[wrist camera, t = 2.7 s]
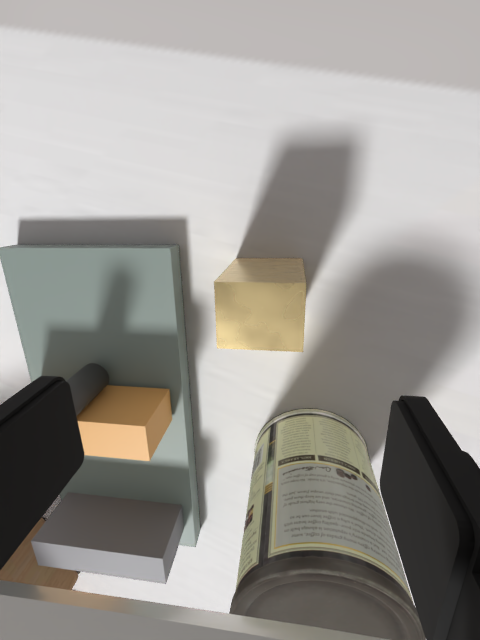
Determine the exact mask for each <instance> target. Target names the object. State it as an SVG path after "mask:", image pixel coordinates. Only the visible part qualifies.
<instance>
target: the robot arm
mask: <svg viewBox="0 0 480 640" xmlns="http://www.w3.org/2000/svg"><path fill="white" fill-rule="evenodd" d="M83 461H84V449H83V444H82V440H81V435H80V430H79V426H78V421H77V416H76V412H75V407H74V402H73V398H72V393H71V388H70V385H69V383H68V382H66V381H65V379H64V378H63V377H60V376H40V377H38V378H37V379H36V380H34V381H33V382H31V383H30V384H29V385H27V386H26V387H25V388H23V389H22V390H20V391H19V392H18V393H16V394H15V395H13V396H12V397H11V398H9V399H8V400H7V401H5V402H4V403H2V404H1V405H0V570H1V569H2V568H3V566H4V565H5V564H6V562H7V561H8V560H9V559H10V557H11V556H12V555H13V553H14V552H15V551H16V550H17V548H18V547H19V546H20V544H21V543H22V542H23V540H24V539H25V538H26V537H27V535H28V534H29V533H30V531H31V530H32V529H33V528H34V526H35V525H36V524H37V522H38V521H39V520H40V519H41V517H42V516H43V515H44V513H45V512H46V511H47V509H48V508H49V507H50V506H51V504H52V503H53V502H54V500H55V499H56V498H57V497H58V495H59V494H60V493H61V491H62V490H63V489H64V488H65V486H66V485H67V484H68V482H69V481H70V480H71V478H72V477H73V476H74V475H75V473H76V472H77V471H78V469H79V468H80V467H81V465H82V463H83ZM380 489H381V494H382V498H383V501H384V504H385V508H386V511H387V514H388V517H389V521H390V524H391V527H392V531H393V534H394V537H395V540H396V544H397V547H398V550H399V553H400V557H401V560H402V563H403V567H404V570H405V573H406V576H407V580H408V583H409V586H410V589H411V593H412V596H413V599H414V603H415V606H416V609H417V612H418V616H419V619H420V622H421V625H422V629H423V632H424V635H425V637H426V639H427V640H480V468H479V467H478V466H477V464H476V463H475V461H474V460H473V458H472V457H471V456H470V455H469V454H468V453H467V452H464V451H462V450H461V449H460V447H459V446H458V444H457V443H456V441H455V440H454V438H453V437H452V435H451V434H450V432H449V431H448V429H447V428H446V426H445V425H444V423H443V422H442V420H441V419H440V417H439V416H438V414H437V413H436V412H435V410H434V409H433V407H432V406H431V404H430V403H429V401H428V400H427V399H426V397H419V396H401V397H400V399H399V401H393V402H392V405H391V412H390V418H389V425H388V431H387V438H386V444H385V451H384V457H383V464H382V470H381V477H380ZM0 640H388V639H382V638H376V637H371V636H365V635H359V634H353V633H348V632H342V631H336V630H330V629H324V628H319V627H312V626H306V625H299V624H293V623H286V622H280V621H273V620H267V619H260V618H254V617H247V616H240V615H234V614H227V613H221V612H214V611H208V610H201V609H195V608H188V607H182V606H175V605H168V604H161V603H155V602H148V601H141V600H134V599H128V598H121V597H114V596H107V595H100V594H93V593H87V592H80V591H73V590H66V589H59V588H52V587H45V586H38V585H31V584H24V583H17V582H10V581H3V580H0Z"/></svg>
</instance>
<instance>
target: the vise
mask: <svg viewBox="0 0 480 640" xmlns="http://www.w3.org/2000/svg"><path fill="white" fill-rule="evenodd" d="M0 259H1V263H2V267H3V271H4V275H5V279H6V283H7V287H8V291H9V295H10V299H11V303H12V307H13V311H14V315H15V319H16V323H17V326H18V330H19V334H20V338H21V342H22V346H23V350H24V354H25V358H26V362H27V366H28V370H29V374H30V378H31V382H33V381H34V380H36V379H37V378H38V377H40V376H60V377H63V378H64V379H65V381H67V380H68V379H69V378H70V377H72V376H73V375H74V374H75V373H77V372H78V371H79V370H80V369H81V368H83V367H84V366H85V365H87V364H89V363H95V364H98V365H100V366H102V367H103V368H104V369H105V370H106V371H107V373H108V375H109V383H108V385H114V386H130V387H146V388H162V389H169V391H170V401H171V411H172V421H171V423H170V425H169V427H168V428H167V430H166V432H165V434H164V436H163V438H162V439H161V441H160V443H159V445H158V447H157V449H156V451H155V452H154V454H153V456H152V458H151V460H150V461H142V460H132V459H121V458H110V457H100V456H89V455H84V461H83V463H82V465H81V467H80V468H79V469H78V471H77V472H76V473H75V475H74V476H73V477H72V478H71V480H70V481H69V482H68V484H67V485H66V486H65V488H64V489H63V490H62V491H61V493H60V497H61V502H60V503H59V505H58V506H57V507H56V509H55V510H54V511H53V512H52V514H51V515H50V516H49V518H48V519H47V520H46V522H45V523H44V524H43V526H42V527H41V528H40V530H39V531H38V532H37V533H36V535H35V536H34V537H33V539H32V540H31V543H32V547H33V550H34V553H35V556H36V560H37V563H38V565H40V566H47V567H54V568H61V569H68V570H75V571H82V572H88V573H95V574H102V575H109V576H116V577H123V578H129V579H136V580H143V581H150V582H157V583H164V584H166V582H167V579H168V576H169V573H170V570H171V567H172V564H173V561H174V558H175V555H176V551H177V548H178V545H183V546H191V547H196V544H197V540H198V536H199V533H200V517H199V503H198V490H197V477H196V464H195V451H194V438H193V425H192V412H191V398H190V385H189V372H188V359H187V346H186V333H185V320H184V307H183V293H182V280H181V267H180V254H179V245H12V246H6V247H1V248H0Z"/></svg>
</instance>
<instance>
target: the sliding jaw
mask: <svg viewBox="0 0 480 640" xmlns="http://www.w3.org/2000/svg"><path fill="white" fill-rule="evenodd" d="M66 382H68V383H69V385H70V388H71V393H72V398H73V402H74V407H75V412H76V416H77V421H78V426H79V430H80V435H81V440H82V444H83V449H84V455H89V456H100V457H110V458H121V459H132V460H142V461H150V460H151V458H152V456H153V454H154V452H155V451H156V449H157V447H158V445H159V443H160V441H161V439H162V438H163V436H164V434H165V432H166V430H167V428H168V427H169V425H170V423H171V421H172V411H171V401H170V391H169V389H162V388H146V387H130V386H114V385H108V383H109V375H108V373H107V371H106V370H105V369H104V368H103V367H102V366H100V365H98V364H95V363H89V364H87V365H85V366H84V367H83V368H81V369H80V370H79V371H78V372H77V373H75V374H74V375H73V376H72V377H70V378H69V379H68V380H67V381H66Z"/></svg>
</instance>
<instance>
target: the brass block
mask: <svg viewBox="0 0 480 640" xmlns="http://www.w3.org/2000/svg"><path fill="white" fill-rule="evenodd" d="M214 289H215V312H216V335H217V348H225V349H247V350H270V351H293V352H303V342H304V322H305V301H306V278H305V272H304V266H303V259H302V258H236V259H235V260H234V261H233V262H232V263H231V264H230V265H229V266H228V268H227V269H226V270H225V271H224V272H223V273H222V274H221V275H220V276H219V277H218V278H217V279H216V280H215V281H214Z"/></svg>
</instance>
